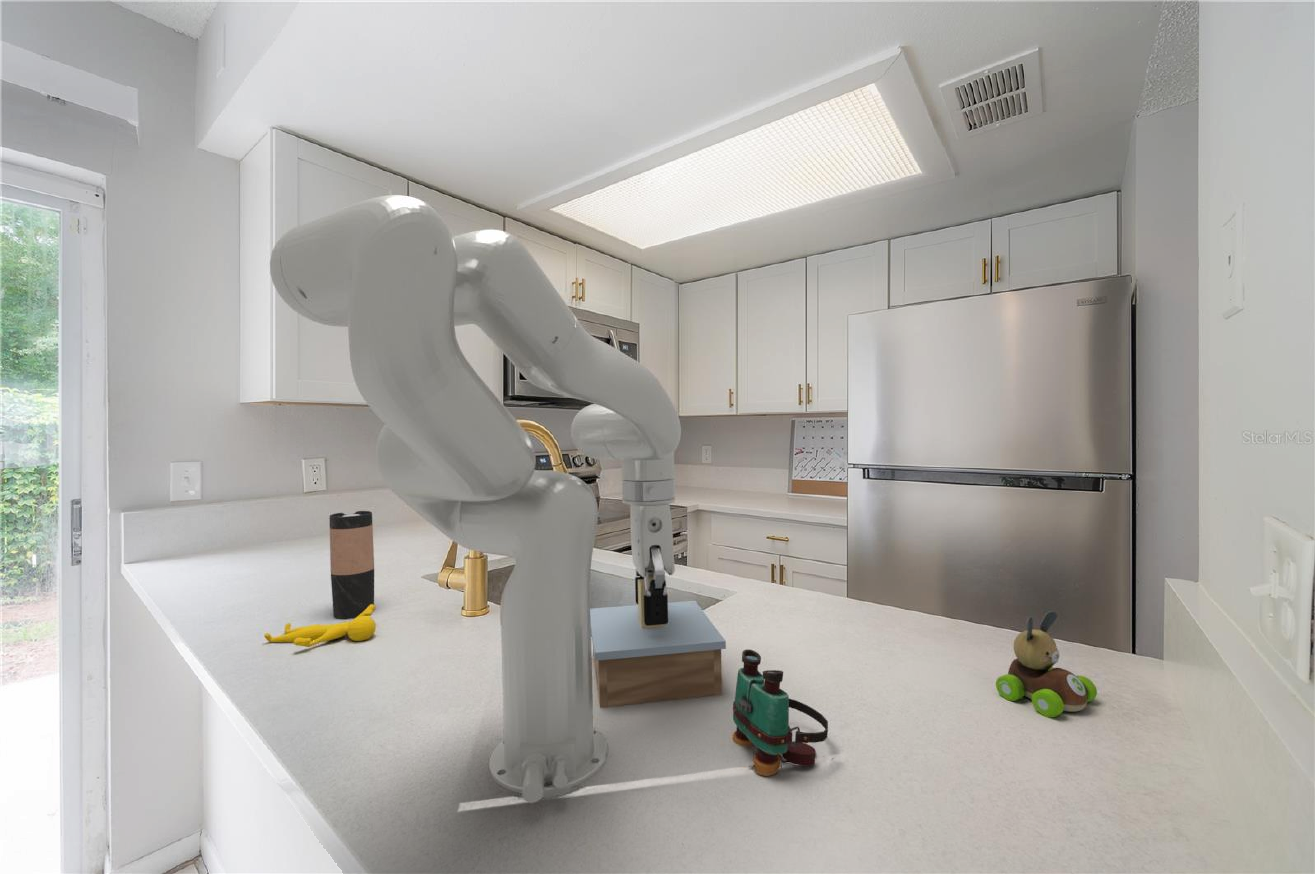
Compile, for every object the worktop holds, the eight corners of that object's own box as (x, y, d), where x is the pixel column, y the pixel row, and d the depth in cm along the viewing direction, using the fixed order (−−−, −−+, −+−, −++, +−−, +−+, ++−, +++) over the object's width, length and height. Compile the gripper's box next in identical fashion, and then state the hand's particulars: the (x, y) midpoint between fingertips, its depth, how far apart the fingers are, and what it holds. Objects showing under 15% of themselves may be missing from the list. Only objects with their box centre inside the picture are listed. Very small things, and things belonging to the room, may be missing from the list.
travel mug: (356, 620, 106) (353, 517, 105) (322, 618, 107) (319, 516, 107) (384, 607, 113) (381, 510, 113) (351, 606, 115) (348, 510, 114)
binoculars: (845, 672, 58) (764, 679, 55) (838, 772, 58) (756, 785, 55) (796, 641, 67) (723, 646, 63) (789, 728, 67) (716, 738, 63)
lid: (725, 648, 72) (724, 595, 72) (595, 660, 69) (593, 605, 69) (695, 606, 88) (694, 563, 88) (588, 615, 86) (587, 570, 85)
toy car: (1062, 725, 65) (1062, 631, 65) (989, 693, 73) (988, 610, 73) (1104, 706, 69) (1103, 618, 69) (1030, 678, 77) (1030, 599, 77)
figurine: (301, 610, 104) (392, 601, 103) (304, 634, 104) (395, 625, 103) (242, 637, 91) (346, 628, 89) (246, 665, 91) (349, 655, 89)
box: (722, 700, 72) (721, 647, 72) (600, 713, 70) (598, 658, 69) (693, 651, 88) (692, 608, 88) (593, 660, 85) (592, 616, 85)
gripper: (687, 498, 70) (690, 633, 71) (663, 484, 87) (665, 593, 88) (629, 500, 69) (632, 638, 69) (616, 486, 86) (618, 596, 86)
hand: (651, 612), depth 79 cm, fingers open, 8 cm apart
